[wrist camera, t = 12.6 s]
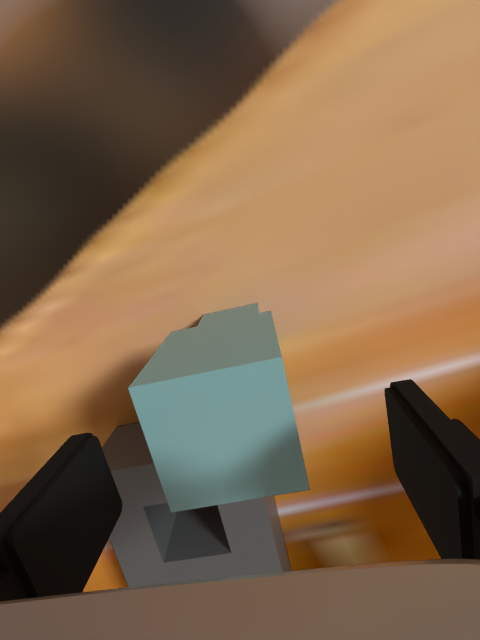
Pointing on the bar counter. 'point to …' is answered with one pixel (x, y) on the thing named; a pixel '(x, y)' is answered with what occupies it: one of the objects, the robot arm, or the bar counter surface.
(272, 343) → the teal plug
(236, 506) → the block
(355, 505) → the bar counter surface
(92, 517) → the robot arm
